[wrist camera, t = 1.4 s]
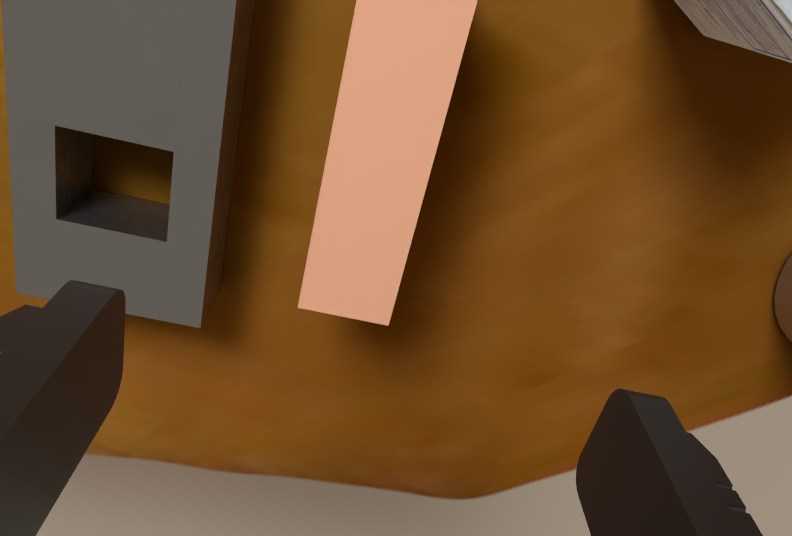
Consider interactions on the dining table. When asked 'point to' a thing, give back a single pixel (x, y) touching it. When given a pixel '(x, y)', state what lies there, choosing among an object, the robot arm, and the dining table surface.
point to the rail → (128, 121)
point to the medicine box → (745, 23)
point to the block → (382, 152)
